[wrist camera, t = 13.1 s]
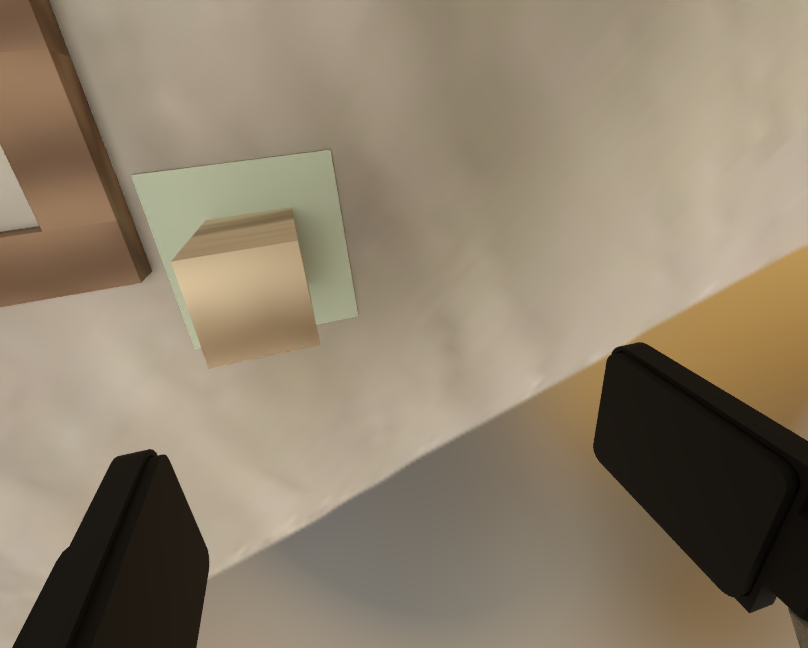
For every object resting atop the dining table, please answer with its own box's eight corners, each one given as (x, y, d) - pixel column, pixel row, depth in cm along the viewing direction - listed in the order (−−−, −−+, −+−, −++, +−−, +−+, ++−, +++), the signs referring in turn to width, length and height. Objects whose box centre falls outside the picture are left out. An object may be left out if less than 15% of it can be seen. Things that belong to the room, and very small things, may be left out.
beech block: (205, 220, 27) (170, 261, 18) (291, 207, 28) (297, 240, 20) (229, 298, 30) (208, 368, 21) (308, 284, 31) (320, 344, 22)
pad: (133, 174, 26) (130, 175, 25) (329, 149, 28) (330, 150, 28) (196, 346, 31) (194, 349, 30) (357, 313, 33) (358, 316, 33)
